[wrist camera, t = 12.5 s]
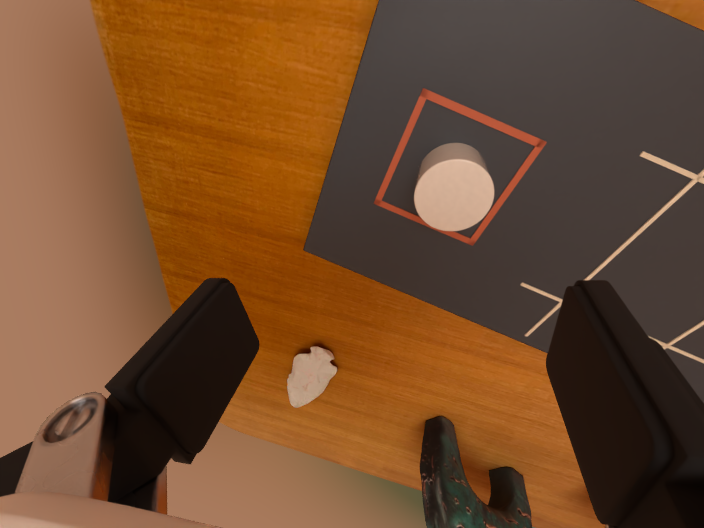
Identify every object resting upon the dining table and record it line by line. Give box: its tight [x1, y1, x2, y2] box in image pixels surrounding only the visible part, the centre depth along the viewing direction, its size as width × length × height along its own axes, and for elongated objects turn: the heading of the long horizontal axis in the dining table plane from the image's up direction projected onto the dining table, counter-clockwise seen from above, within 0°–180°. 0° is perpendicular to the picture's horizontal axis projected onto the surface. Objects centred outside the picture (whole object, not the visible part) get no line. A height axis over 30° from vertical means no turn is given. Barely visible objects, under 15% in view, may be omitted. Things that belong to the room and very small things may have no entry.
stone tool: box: [287, 346, 337, 407], centre depth 43 cm, size 6×2×15 cm
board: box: [303, 0, 704, 403], centre depth 25 cm, size 56×24×1 cm, turn 71°
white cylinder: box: [414, 143, 494, 231], centre depth 22 cm, size 5×5×4 cm
